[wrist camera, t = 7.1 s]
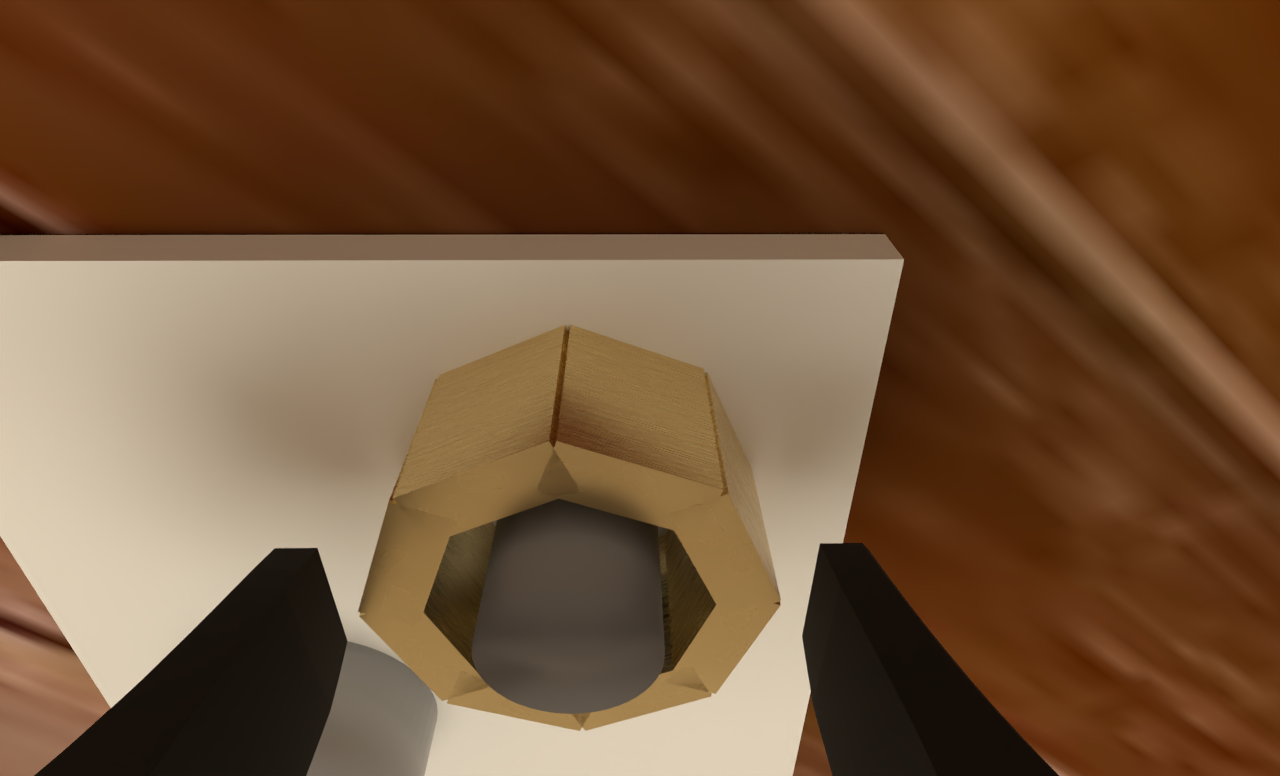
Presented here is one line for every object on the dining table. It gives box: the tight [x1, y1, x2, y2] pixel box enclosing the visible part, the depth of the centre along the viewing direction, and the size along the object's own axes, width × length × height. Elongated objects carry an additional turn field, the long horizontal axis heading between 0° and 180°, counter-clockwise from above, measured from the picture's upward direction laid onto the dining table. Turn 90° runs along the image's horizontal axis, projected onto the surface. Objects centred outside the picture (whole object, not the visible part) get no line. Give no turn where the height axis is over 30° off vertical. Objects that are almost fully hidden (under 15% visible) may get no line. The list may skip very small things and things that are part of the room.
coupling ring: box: [358, 325, 781, 731], centre depth 12 cm, size 6×6×3 cm
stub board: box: [0, 234, 904, 776], centre depth 14 cm, size 16×15×5 cm
